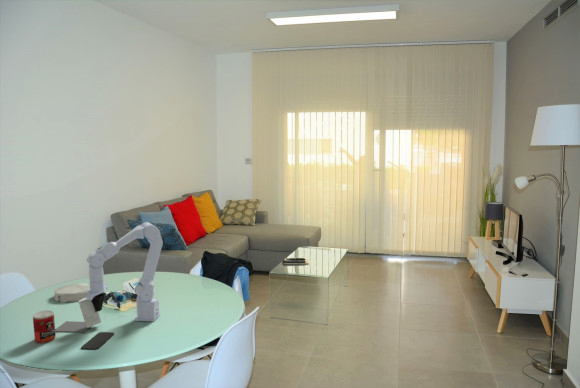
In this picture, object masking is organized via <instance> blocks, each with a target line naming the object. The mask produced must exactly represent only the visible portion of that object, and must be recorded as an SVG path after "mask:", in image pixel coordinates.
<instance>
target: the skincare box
mask: <svg viewBox="0 0 580 388" xmlns="http://www.w3.org/2000/svg"><path fill="white" fill-rule="evenodd" d="M78 305H79V308H80V310H81V311H80V312H81V313H82V317H83V320H84V321H83V322H85V324H86V327H87V328H89V327H91V326H92V327H94V326H96V325H99V324H101V323H102V320H101V316H100V313H99V311H95V309H94V306H93V303H92V302H91V300H87V298H85V299H82V300H78ZM92 327H91V328H92Z"/></svg>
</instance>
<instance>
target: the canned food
mask: <svg viewBox="0 0 580 388" xmlns="http://www.w3.org/2000/svg"><path fill="white" fill-rule="evenodd" d="M32 324H33V325H32V326H33V334H34V340H35V342H36V343H37V344H44V343H45V344H46V343H49V342H52V341H53V340H55V338H56V332H55V329H56V326H55V325H56V321H55V313H54V310H39V311H38V312H35V313H33V314H32Z"/></svg>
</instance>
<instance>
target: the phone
mask: <svg viewBox="0 0 580 388" xmlns="http://www.w3.org/2000/svg"><path fill="white" fill-rule="evenodd" d="M113 336H115V332H109V331H99V332H97V333H96V334H95V335H93V336H92V337H91V338H90V339H89V340H87V341H86V343H84V344H83V345H82V346H81V347H80V350H88V351H89V350H90V351H91V350H92V351H93V350H94V351H95V350H97V351H98V350H99V349H100V348H102V347H103V346H104V345H105V344H106V343H107V342H108V341H109V340H110V339H111V338H113Z"/></svg>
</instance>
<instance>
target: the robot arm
mask: <svg viewBox="0 0 580 388" xmlns="http://www.w3.org/2000/svg"><path fill="white" fill-rule="evenodd" d="M145 238H146V240H147V241H148V242H149V245H150V246H149V248H148V252H147V256H146V260H145V264H144V267H143V271H142V274H141V278H139V280H138V283H136V286H135V287H134V293H135V295H137V296H136V299H135V300H136V317H135V318H134V319H133V321H134V322H154V321H156V319H157V318H158V317H159V316H160V315H161V314H160V302H159V300H158V299H157V298H156V299H155V298H154V295H155V294H154V285H155V283H154V279H155V274H156V272H157V271H156V270H157V267H158V263H159V259H160V256H161V251H162V248H163V245H164V244H163V243H164V242H163V239H162V235H161V231H160V229H159V228H158V227H157V226H156V225H154V224H152V222H151V223H150V222H149V221H144V222H142V223H141V224H139V225H137V226H136V227H134V228H133V229H131V230H130V231H128V232H127V233H126V234H125V235H124V236H122V237H121V238H119V239H117V241H110V242H106V243H105V244H104V246H102V247H101V248H99V249H96V250H95V252H93V251H92V252H90V253H89V254H88V256H87V257H86V258H87V259H86V261H87V263H88V278H89V285H90V289H89V290H88V292H89V294H88V295H87V300H91V302H92V303H93V306H94V309H95V311H98V312H101V311H102V309H103V306H104V301H105V298H106V296H107V292H106V291H107V290H109V289H108V288H109V287H108V284H105V278H104V274H105V273H104V267H103V265H104V263H105V262H107V261H108V260H110V259H112V257H114V256H115V255H117V254H119V252H120V249H121V248H123V247H124V246H127V244H130V243H131V242H133V241H134V240H136V239H138V240H139V239H141V240H143V239H145Z"/></svg>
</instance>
